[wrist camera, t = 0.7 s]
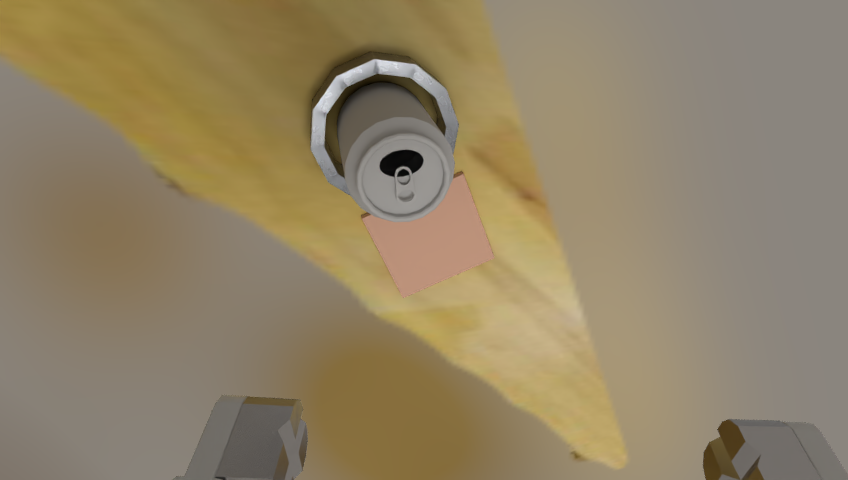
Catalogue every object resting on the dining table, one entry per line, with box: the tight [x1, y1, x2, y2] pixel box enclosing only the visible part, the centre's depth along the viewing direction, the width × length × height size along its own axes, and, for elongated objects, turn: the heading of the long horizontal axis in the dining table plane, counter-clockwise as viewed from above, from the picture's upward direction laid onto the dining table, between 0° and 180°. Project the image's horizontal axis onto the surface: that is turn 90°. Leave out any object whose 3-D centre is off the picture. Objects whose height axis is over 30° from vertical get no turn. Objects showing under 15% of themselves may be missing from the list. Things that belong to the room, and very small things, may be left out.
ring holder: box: [310, 52, 459, 196], centre depth 42 cm, size 12×12×3 cm
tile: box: [361, 172, 494, 298], centre depth 50 cm, size 10×10×1 cm
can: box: [337, 83, 455, 222], centre depth 39 cm, size 8×8×12 cm
